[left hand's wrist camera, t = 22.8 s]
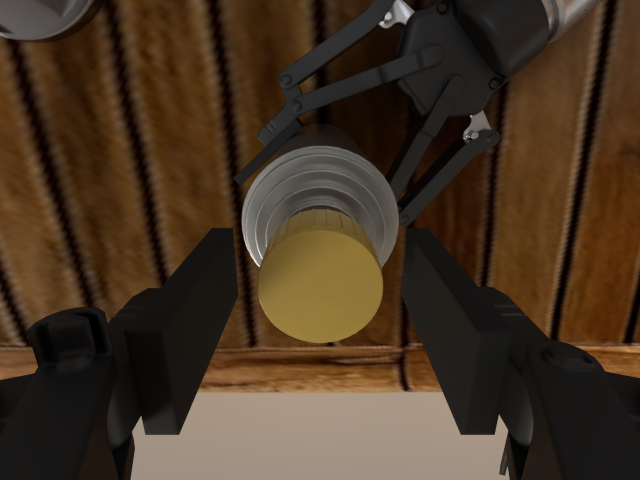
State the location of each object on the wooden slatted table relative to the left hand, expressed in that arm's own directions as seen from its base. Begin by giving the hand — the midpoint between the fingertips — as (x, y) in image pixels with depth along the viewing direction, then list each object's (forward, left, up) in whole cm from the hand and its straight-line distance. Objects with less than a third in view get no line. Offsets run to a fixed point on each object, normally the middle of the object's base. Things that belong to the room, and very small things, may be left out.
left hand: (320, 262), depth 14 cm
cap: (0, 0, +2) cm, 2 cm away
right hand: (+3, -4, -17) cm, 18 cm away
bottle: (0, 0, -23) cm, 23 cm away
